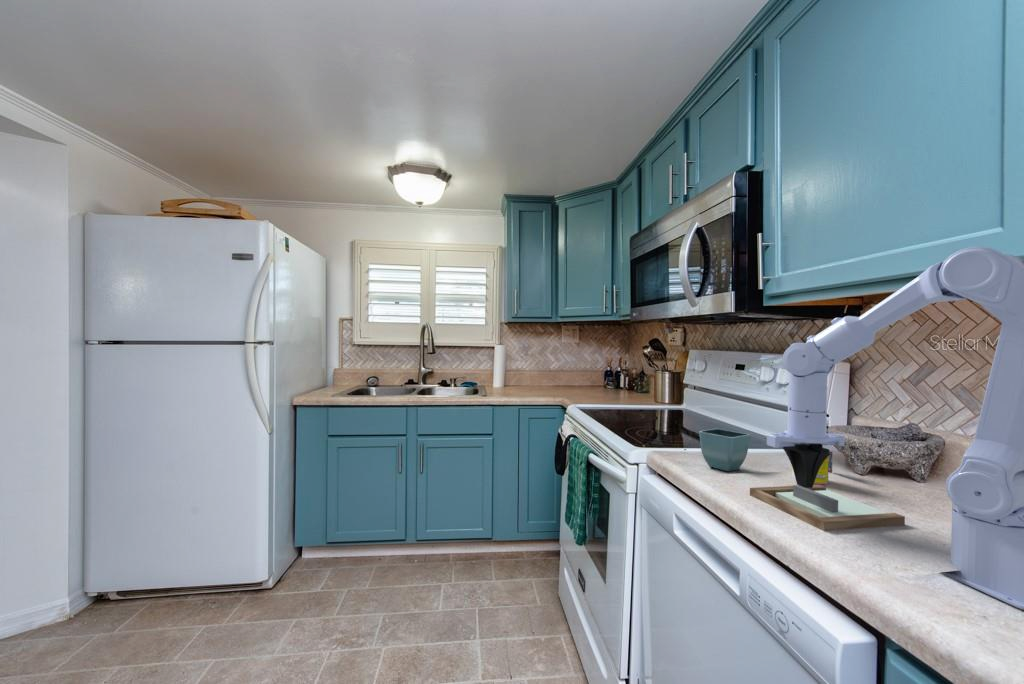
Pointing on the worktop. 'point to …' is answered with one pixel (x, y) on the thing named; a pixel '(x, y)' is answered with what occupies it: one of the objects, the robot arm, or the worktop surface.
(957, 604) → the worktop surface
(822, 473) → the supplement bottle
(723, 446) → the flower pot
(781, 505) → the wooden box
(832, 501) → the cover plate
